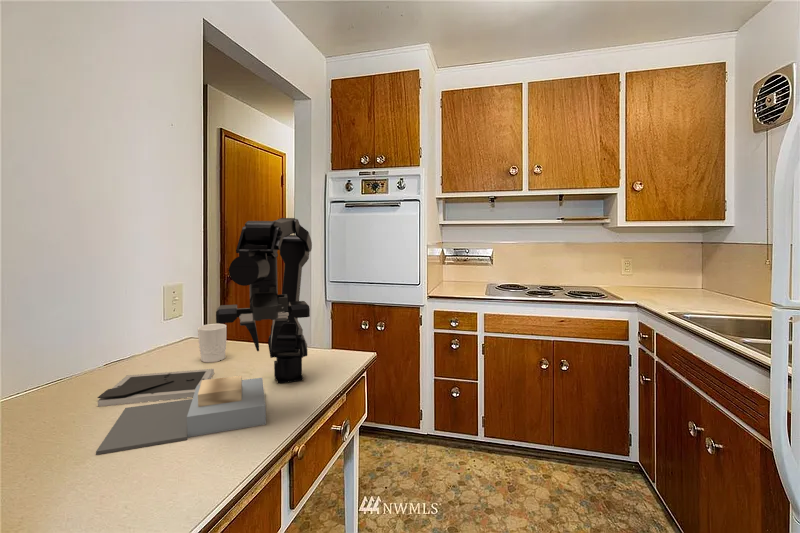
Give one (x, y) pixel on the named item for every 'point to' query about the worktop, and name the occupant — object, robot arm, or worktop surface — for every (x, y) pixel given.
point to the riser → (229, 411)
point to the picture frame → (154, 387)
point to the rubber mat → (147, 426)
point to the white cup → (212, 342)
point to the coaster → (220, 391)
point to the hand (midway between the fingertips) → (265, 350)
